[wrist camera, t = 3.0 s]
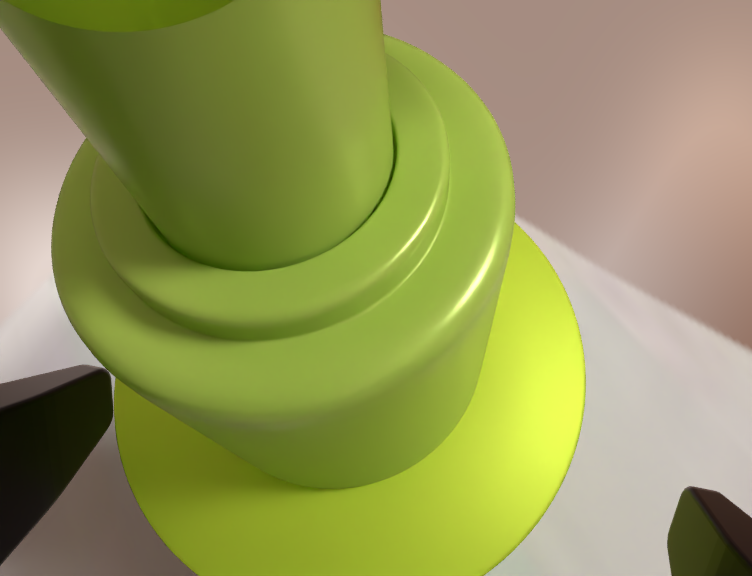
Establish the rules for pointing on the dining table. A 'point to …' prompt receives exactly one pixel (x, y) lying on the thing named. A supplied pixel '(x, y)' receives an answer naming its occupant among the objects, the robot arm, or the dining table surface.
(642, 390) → the dining table surface
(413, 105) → the soap dispenser
